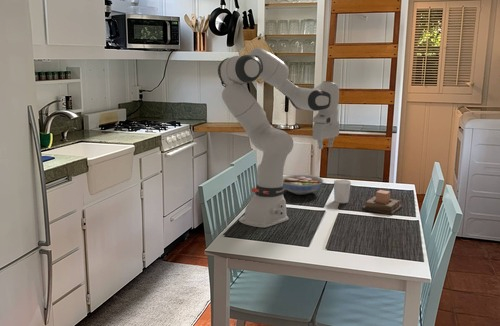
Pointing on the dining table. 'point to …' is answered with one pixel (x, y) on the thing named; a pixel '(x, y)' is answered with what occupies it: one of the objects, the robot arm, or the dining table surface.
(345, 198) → the white cup
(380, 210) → the walnut socket base
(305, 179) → the ramen bowl
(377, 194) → the terracotta block
